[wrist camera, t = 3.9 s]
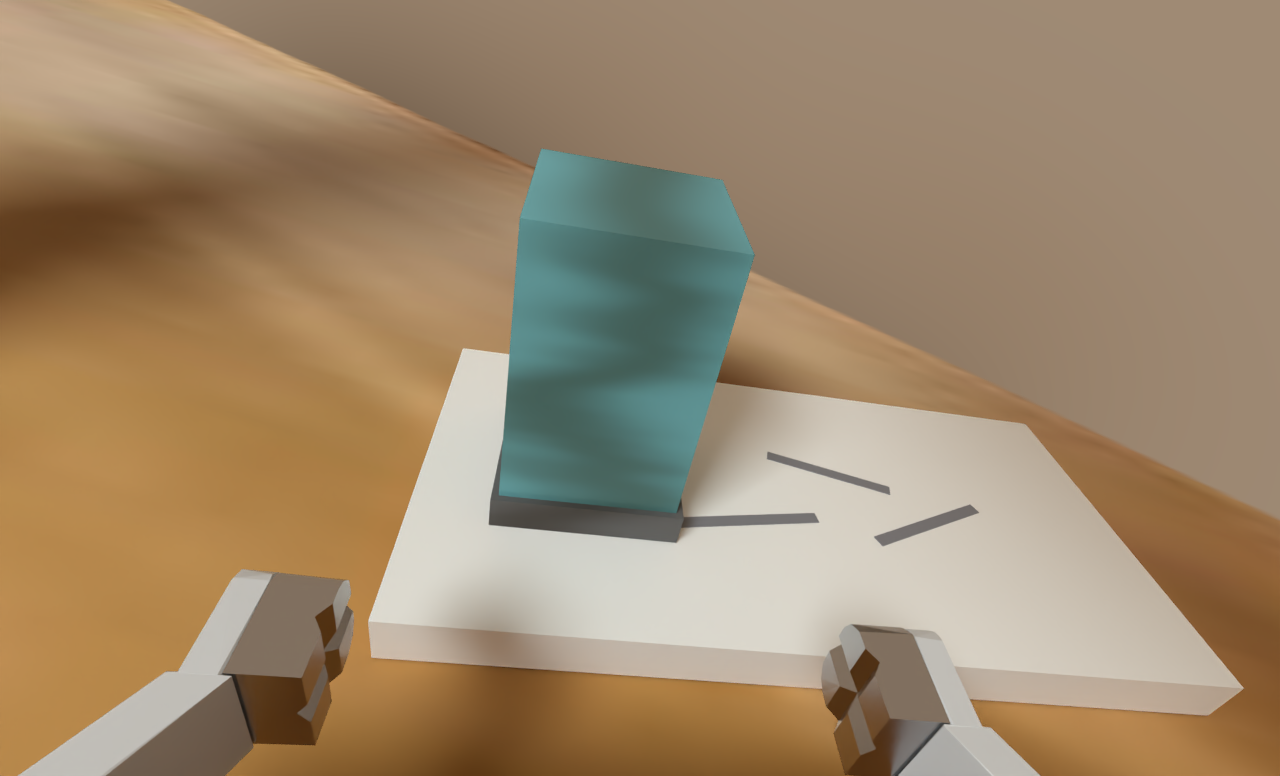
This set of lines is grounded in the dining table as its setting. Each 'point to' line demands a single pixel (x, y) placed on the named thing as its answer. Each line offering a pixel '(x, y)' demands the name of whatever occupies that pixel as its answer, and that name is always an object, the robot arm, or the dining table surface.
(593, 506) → the block
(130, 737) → the robot arm
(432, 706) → the dining table surface
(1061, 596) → the board
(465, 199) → the dining table surface
